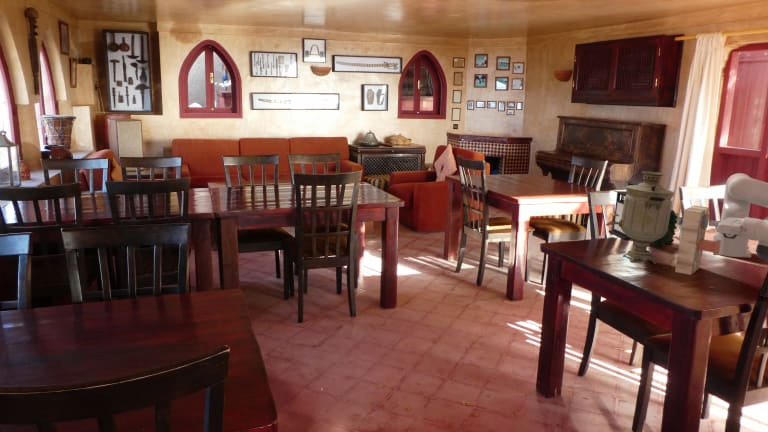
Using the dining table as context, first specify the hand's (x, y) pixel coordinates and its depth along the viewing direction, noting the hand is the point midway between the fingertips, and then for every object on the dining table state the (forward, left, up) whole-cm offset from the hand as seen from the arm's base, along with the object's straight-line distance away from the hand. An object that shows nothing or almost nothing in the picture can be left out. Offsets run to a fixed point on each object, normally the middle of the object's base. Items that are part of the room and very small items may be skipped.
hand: (709, 222), depth 236 cm
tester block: (0, -5, -22) cm, 22 cm away
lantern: (-48, -44, -22) cm, 69 cm away
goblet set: (-68, -34, -22) cm, 79 cm away
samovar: (0, -28, -22) cm, 36 cm away
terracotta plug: (0, 0, -13) cm, 13 cm away
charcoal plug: (0, -6, -3) cm, 6 cm away
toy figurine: (-39, -26, -22) cm, 52 cm away
